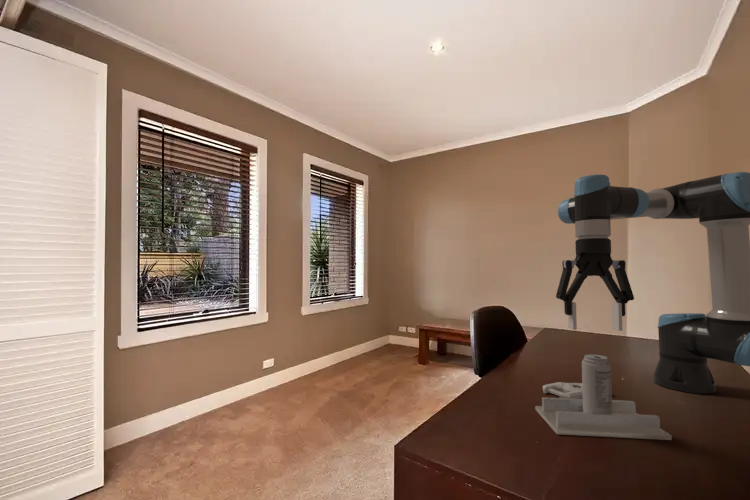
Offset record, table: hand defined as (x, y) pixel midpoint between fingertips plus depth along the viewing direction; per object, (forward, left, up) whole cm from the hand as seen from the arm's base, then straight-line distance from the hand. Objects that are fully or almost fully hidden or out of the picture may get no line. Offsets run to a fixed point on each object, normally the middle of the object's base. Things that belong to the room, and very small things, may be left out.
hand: (594, 329), depth 87 cm
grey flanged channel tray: (0, 0, -23) cm, 23 cm away
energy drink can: (0, 0, -22) cm, 22 cm away
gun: (-4, -21, -23) cm, 32 cm away
